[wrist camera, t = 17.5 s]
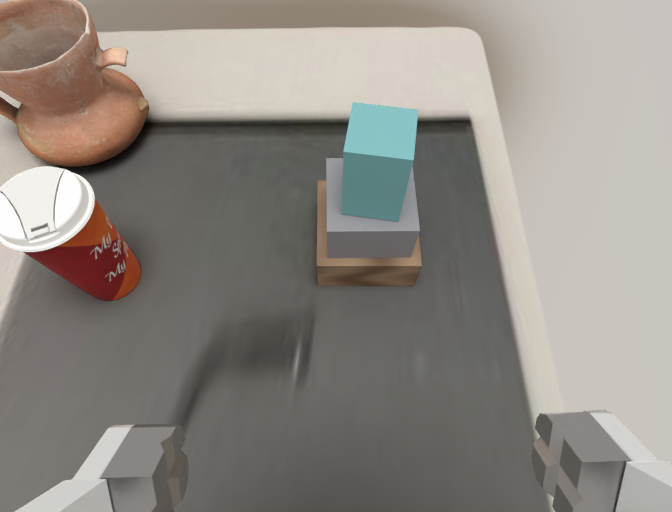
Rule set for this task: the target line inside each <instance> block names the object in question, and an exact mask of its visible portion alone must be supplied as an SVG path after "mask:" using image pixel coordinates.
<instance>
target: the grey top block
mask: <svg viewBox="0 0 672 512" xmlns="http://www.w3.org/2000/svg"><path fill="white" fill-rule="evenodd" d="M326 159H327V258H411V256H412V253H413V250H414V247H415V244H416V241H417V238H418V235H419V232H420V227H419V219H418V210H417V201H416V193H415V184H414V176H413V167H412V169H411V173H410V177H409V181H408V185H407V189H406V194H405V198H404V202H403V206H402V210H401V214H400V218H399V222H397V221H389V220H381V219H374V218H366V217H359V216H351V215H343V214H342V184H343V158H326Z"/></svg>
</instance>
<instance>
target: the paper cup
mask: <svg viewBox="0 0 672 512" xmlns="http://www.w3.org/2000/svg"><path fill="white" fill-rule="evenodd" d="M0 192H1V193H0V242H2V243H3V244H4V245H5V246H7V247H9V248H11V249H13V250H17V251H22V252H24V253H26V254H27V255H29V256H30V257H32V258H33V259H35V260H36V261H38V262H39V263H41V264H43V265H44V266H46V267H47V268H49V269H50V270H52V271H53V272H55V273H56V274H58V275H60V276H61V277H63V278H64V279H66V280H67V281H69V282H71V283H72V284H74V285H75V286H77V287H78V288H80V289H82V290H83V291H85V292H87V293H88V294H90V295H92V296H93V297H95V298H97V299H100V300H105V301H112V300H117V299H120V298H122V297H124V296H126V295H127V294H129V293H130V292H131V291H132V290H133V289H134V288H135V287H136V285H137V284H138V282H139V280H140V276H141V268H140V265H139V262H138V261H137V259H136V257H135V256H134V254H133V253H132V251H131V250H130V248H129V247H128V245H127V244H126V242H125V241H124V239H123V238H122V237H121V235H120V234H119V232H118V231H117V229H116V228H115V226H114V225H113V224H112V222H111V221H110V219H109V218H108V217H107V215H106V214H105V212H104V211H103V209H102V208H101V207H100V205H99V204H98V202H97V201H96V199H95V197H94V192H93V189H92V187H91V186H90V184H89V183H88V182H87V181H86V180H85V179H84V178H83V177H81V176H80V175H78V174H75V173H73V172H70V171H68V170H66V169H62V168H57V167H51V166H43V167H36V168H33V169H29V170H26V171H24V172H21V173H19V174H17V175H15V176H14V177H12V178H11V179H9V180H8V181H7V182H6V183H5V184H3V185H2V186H1V187H0Z"/></svg>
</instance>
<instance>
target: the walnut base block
mask: <svg viewBox="0 0 672 512" xmlns="http://www.w3.org/2000/svg"><path fill="white" fill-rule="evenodd" d="M421 267H422V262H421V252H420V243H419V235H418V238H417V241H416V244H415V247H414V250H413V253H412V256H411V258H327V181H318V206H317V278H318V286H414V284H415V282H416V279H417V277H418V274H419V272H420V269H421Z"/></svg>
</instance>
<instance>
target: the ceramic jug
mask: <svg viewBox="0 0 672 512" xmlns="http://www.w3.org/2000/svg"><path fill="white" fill-rule="evenodd" d="M127 54H128V50H127V49H124V48H121V47H115V48H109V49H107V50H105V51H103V50H101V48H100V46H99V41H98V37H97V33H96V29H95V26H94V23H93V21H92V18H91V16H90V14H89V13H88V11H87V9H86V8H85V7H84V6H83V5H82V4H81V3H80V2H78V1H77V0H11V1H7V2H5V3H1V4H0V90H1V91H3V92H4V93H6V94H7V95H9V96H10V97H12V98H14V99H16V100H17V101H19V102H21V105H20V107H19V109H18V108H16V107H14V106H12V105H11V104H9V103H8V102H7V101H5V100H4V99H3V98H1V97H0V114H1V115H3V116H5V117H7V118H8V119H10V120H12V121H13V122H14V123H15V124H16V125H17V129H18V134H19V136H20V139H21V141H22V143H23V144H24V145H25V147H26V148H27V149H28V150H29V151H30V152H31V153H33V154H34V155H35V156H37V157H38V158H40V159H42V160H44V161H47V162H49V163H53V164H56V165H62V166H72V167H77V166H87V165H92V164H96V163H99V162H102V161H105V160H107V159H110V158H112V157H114V156H116V155H118V154H119V153H121V152H122V151H124V150H125V149H126V148H127V147H128V146H130V145H131V144H132V142H133V141H134V140H135V139H136V138H137V136H138V135H139V133H140V131H141V129H142V127H143V125H144V122H145V120H146V117H147V114H148V111H149V106H148V103H147V101H146V100H145V99H144V96H143V94H142V92H141V90H140V88H139V87H138V86H137V84H136V83H135V82H134V81H133V80H131V79H130V78H129V77H128V76H126V75H124V74H123V73H121V72H118V71H116V70H113V69H109V68H105V67H107V66H109V65H121V66H124V67H125V66H127V65H126V58H127Z"/></svg>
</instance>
